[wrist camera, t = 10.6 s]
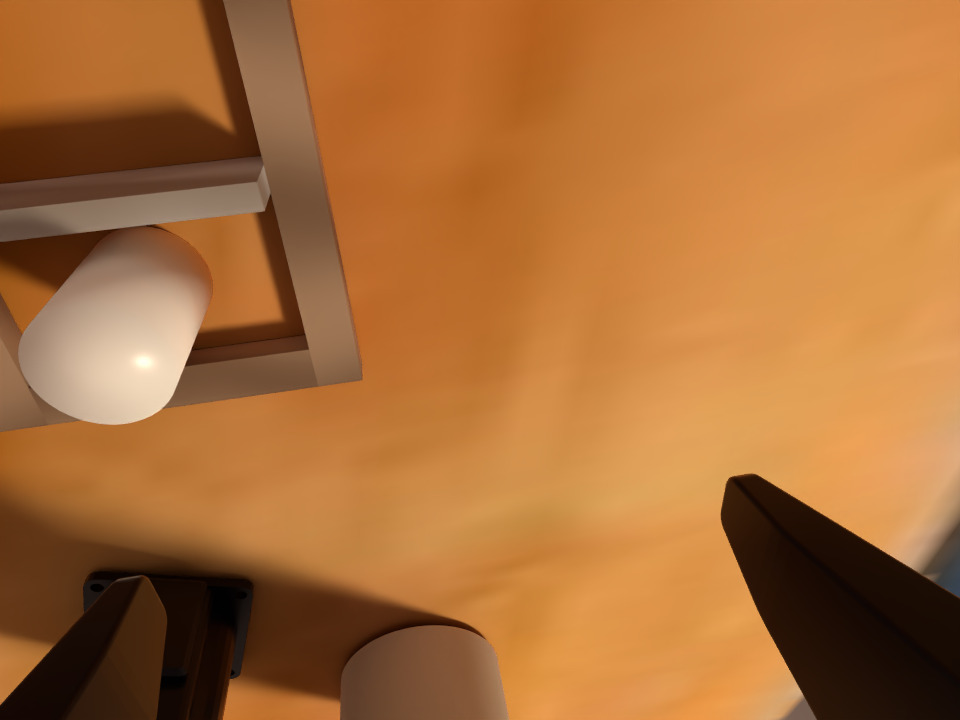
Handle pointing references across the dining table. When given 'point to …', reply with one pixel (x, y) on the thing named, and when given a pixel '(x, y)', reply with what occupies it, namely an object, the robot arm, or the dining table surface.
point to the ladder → (213, 193)
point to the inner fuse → (119, 328)
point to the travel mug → (424, 677)
